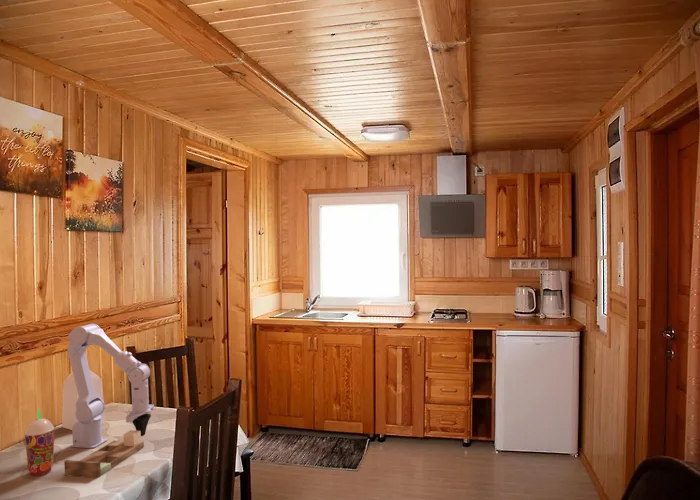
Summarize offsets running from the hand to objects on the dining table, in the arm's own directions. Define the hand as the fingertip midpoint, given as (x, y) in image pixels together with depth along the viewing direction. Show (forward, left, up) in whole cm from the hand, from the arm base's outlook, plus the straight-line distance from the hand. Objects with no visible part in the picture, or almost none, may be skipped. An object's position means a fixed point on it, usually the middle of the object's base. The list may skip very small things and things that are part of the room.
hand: (141, 435), depth 186 cm
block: (0, -5, -1) cm, 6 cm away
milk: (-37, +17, -3) cm, 41 cm away
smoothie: (-19, -26, -3) cm, 33 cm away
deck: (-3, -15, -3) cm, 16 cm away
